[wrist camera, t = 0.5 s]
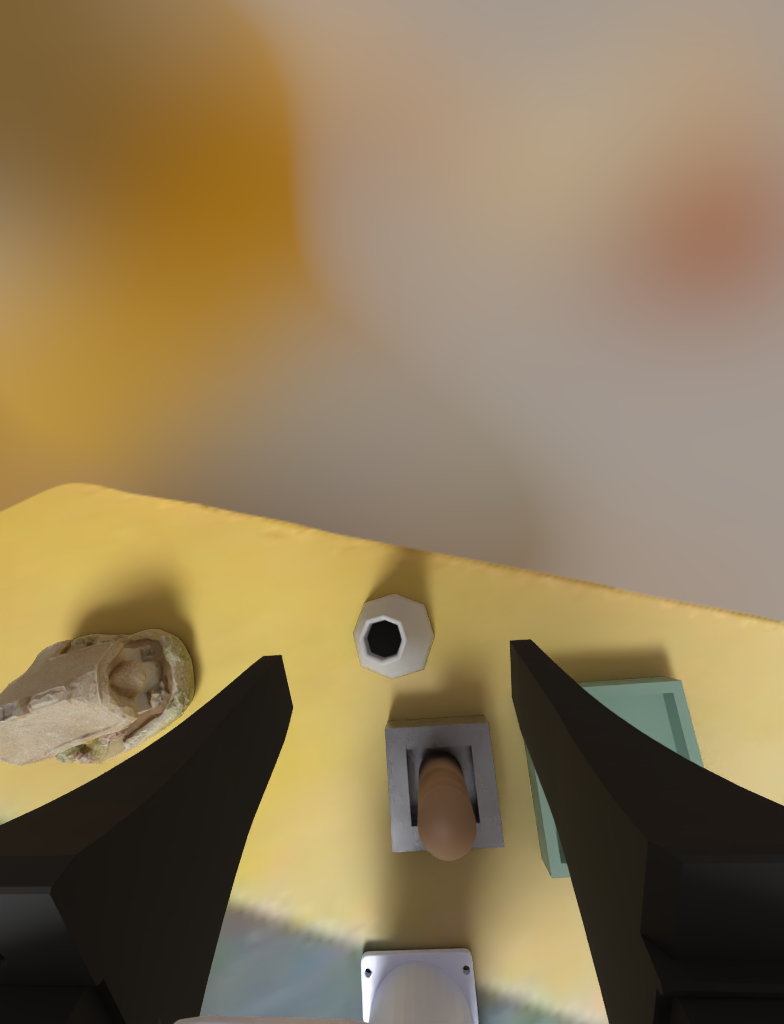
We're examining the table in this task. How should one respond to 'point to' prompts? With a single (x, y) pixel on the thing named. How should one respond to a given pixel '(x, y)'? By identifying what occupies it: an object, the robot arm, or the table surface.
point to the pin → (444, 807)
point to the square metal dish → (476, 759)
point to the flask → (393, 636)
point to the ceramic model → (95, 697)
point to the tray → (646, 708)
